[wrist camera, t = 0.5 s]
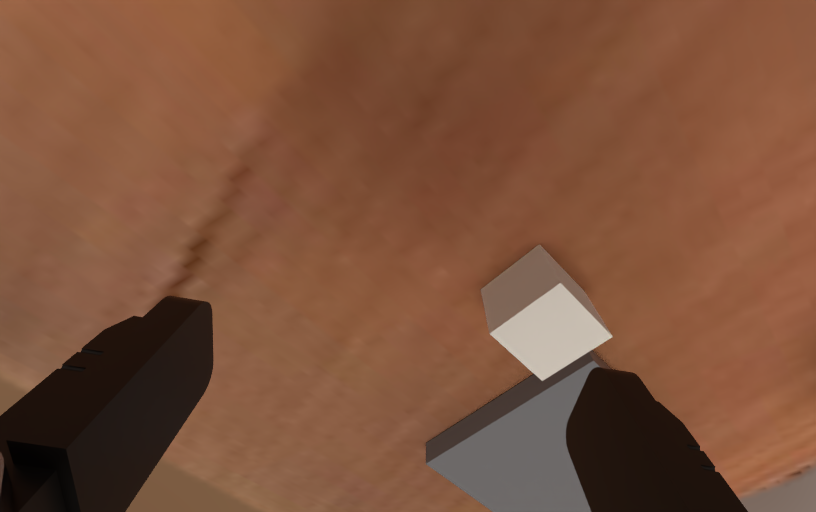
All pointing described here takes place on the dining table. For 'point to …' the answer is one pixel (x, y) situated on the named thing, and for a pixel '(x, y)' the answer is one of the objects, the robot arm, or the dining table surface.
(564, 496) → the slate board
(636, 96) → the dining table surface
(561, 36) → the dining table surface
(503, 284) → the cube
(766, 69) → the dining table surface
